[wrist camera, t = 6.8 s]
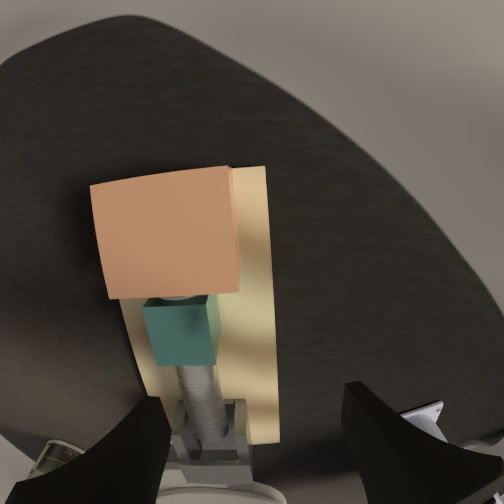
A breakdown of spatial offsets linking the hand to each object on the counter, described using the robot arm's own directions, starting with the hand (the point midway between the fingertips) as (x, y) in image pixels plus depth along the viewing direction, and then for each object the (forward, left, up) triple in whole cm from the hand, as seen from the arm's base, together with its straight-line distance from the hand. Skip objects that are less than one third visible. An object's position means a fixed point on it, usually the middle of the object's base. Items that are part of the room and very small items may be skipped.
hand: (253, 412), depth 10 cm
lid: (-27, +7, -10) cm, 29 cm away
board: (-2, +4, -9) cm, 10 cm away
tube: (-1, +4, -8) cm, 9 cm away
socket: (+6, +4, -9) cm, 12 cm away
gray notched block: (-10, +4, -9) cm, 14 cm away
